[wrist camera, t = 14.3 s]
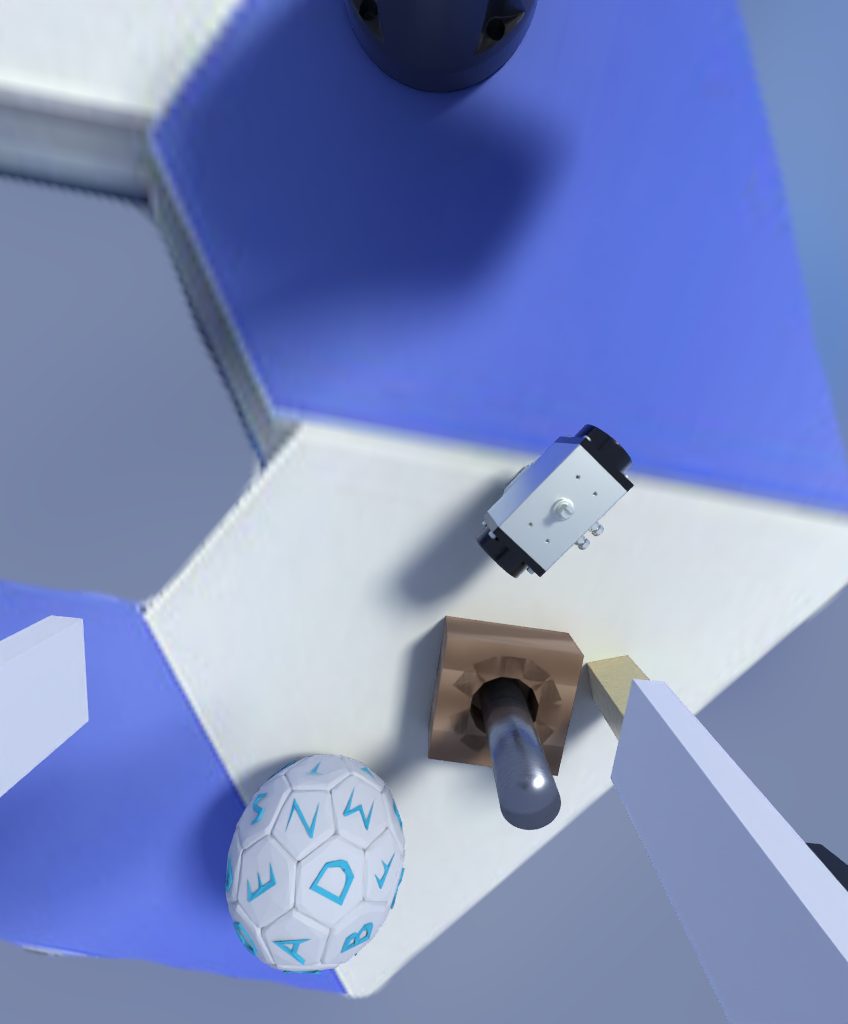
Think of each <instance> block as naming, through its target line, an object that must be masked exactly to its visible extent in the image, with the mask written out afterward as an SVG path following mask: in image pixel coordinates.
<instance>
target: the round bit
mask: <svg viewBox="0 0 848 1024" xmlns="http://www.w3.org/2000/svg"><path fill="white" fill-rule="evenodd" d="M478 693H479V698H480V703H481V709H482V714H483V719H484V724H485V729H486V735H487V740H488V745H489V750H490V756H491V761H492V766H493V771H494V777H495V782H496V787H497V792H498V797H499V803H500V808H501V812H502V814H503V816H504V818H505V819H506V820H507V821H508V822H509V823H510V824H512V825H513V826H515V827H517V828H520V829H525V830H534V829H539V828H542V827H544V826H546V825H548V824H549V823H551V822H552V821H553V820H554V819H555V818H556V816H557V815H558V813H559V810H560V806H561V799H560V795H559V792H558V789H557V787H556V784H555V781H554V778H553V776H552V773H551V770H550V767H549V765H548V762H547V759H546V756H545V754H544V751H543V748H542V745H541V743H540V740H539V737H538V734H537V732H536V729H535V726H534V723H533V721H532V718H531V715H530V712H529V710H528V707H527V704H526V701H525V699H524V696H523V693H522V690H521V688H520V685H519V682H518V679H516V678H508V677H498V678H495V679H493V680H490V681H487V682H484V683H483V684H482V685H481V686H480V688H479V689H478Z"/></svg>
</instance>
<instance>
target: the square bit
mask: <svg viewBox="0 0 848 1024" xmlns="http://www.w3.org/2000/svg"><path fill="white" fill-rule="evenodd" d="M587 665H588V671H589V677H590V684H591V690H592V696H593V700H594V702H595V703H596V705H597V707H598V708H599V710H600V711H601V713H602V715H603V716H604V718H605V720H606V721H607V723H608V725H609V726H610V728H611V729H612V731H613V733H614V734H615V736H616V738H617V739H618V741H619V737H620V733H621V728H622V724H623V719H624V715H625V710H626V706H627V701H628V697H629V692H630V688H631V683H632V679H641V680H649V678H648V677H647V676H646V675H645V674H644V673H643V672H642V671H641V669H640V668H639V667H638V666H637V665H636V664H635V663H634V662H633V660H632V659H631V658H630V657H629V656H628V655H626V656H621V657H616V658H610V659H605V660H599V661H594V662H589V663H587Z"/></svg>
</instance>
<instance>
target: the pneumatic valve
mask: <svg viewBox="0 0 848 1024" xmlns="http://www.w3.org/2000/svg"><path fill="white" fill-rule="evenodd" d="M631 464H632V461H631V458H630V456H629V455H628V454H627V452H626V451H625V450H624V449H623V448H622V447H621V446H620V445H619V444H618V443H617V442H616V441H615V440H614V439H613V438H612V437H610V436H609V435H608V434H606V433H605V432H604V431H602V430H601V429H599V428H597V427H595V426H593V425H589V424H587V425H585V426H584V427H583V428H582V429H581V430H580V431H579V432H578V433H577V434H576V435H575V436H574V437H571V436H569V435H567V437H559V438H558V439H557V440H556V441H555V442H554V443H553V444H552V445H551V446H550V447H549V448H548V449H547V450H546V451H545V452H544V454H543V455H542V456H541V457H540V458H539V459H538V460H537V461H536V462H535V463H534V464H533V463H532V464H531V465H527V466H526V467H525V468H524V469H523V470H522V471H521V472H520V473H519V474H518V475H517V476H516V477H515V479H514V480H513V481H512V482H511V483H510V484H509V485H508V486H507V487H506V488H505V489H504V493H503V496H502V497H501V498H500V499H499V500H498V501H497V502H496V503H495V504H494V505H493V506H492V507H491V508H490V509H489V510H488V512H486V513H485V514H484V515H483V516H482V517H483V519H484V520H485V521H484V522H483V523H482V524H483V525H484V526H485V528H484V529H483V530H482V531H481V532H480V533H479V534H478V535H477V536H476V538H475V539H476V541H477V542H478V544H479V545H480V546H481V547H482V548H483V550H484V551H485V552H486V553H487V554H488V555H489V556H490V557H491V558H492V559H493V560H494V561H495V562H496V563H497V564H498V565H499V566H500V567H501V568H503V569H504V570H505V571H506V572H507V573H508V574H510V575H511V576H513V577H514V578H517V577H518V576H519V575H520V574H521V573H522V572H523V571H524V570H525V569H526V568H527V567H528V566H529V567H528V568H527V571H528V572H529V573H530V574H533V573H534V572H535V573H536V574H537V575H538V576H539V577H541V576H542V575H543V574H544V573H545V572H546V571H547V570H548V569H549V568H550V567H551V566H552V565H553V564H554V563H555V562H556V561H557V560H558V559H559V558H560V557H561V556H562V555H563V554H564V553H565V552H566V551H567V550H568V549H569V548H570V547H571V546H573V545H574V544H575V545H578V548H579V549H581V550H583V549H585V548H587V547H588V546H589V544H590V543H589V540H588V539H585V537H584V536H583V535H584V534H585V533H586V532H587V531H588V530H589V531H592V534H593V535H594V536H598V535H600V534H601V533H602V532H603V530H604V528H603V527H602V526H601V525H599V523H598V522H597V521H598V520H599V519H600V518H601V517H602V516H603V515H604V514H605V513H606V512H607V511H608V510H609V509H610V508H611V507H612V506H613V505H614V504H615V503H616V502H618V501H619V500H620V499H621V498H622V497H623V496H624V495H625V494H626V493H627V492H628V491H629V490H630V489H631V488H632V487H633V486H634V485H633V484H632V483H631V482H630V481H629V477H628V476H627V475H626V474H623V473H624V472H625V471H626V470H627V469H628V468H629V467H630V466H631Z"/></svg>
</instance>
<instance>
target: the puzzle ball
mask: <svg viewBox="0 0 848 1024" xmlns="http://www.w3.org/2000/svg"><path fill="white" fill-rule="evenodd" d="M295 762H296V761H293V762H291V763H290V764H288V765H287V766H285V767H284V768H282V769H281V770H280V771H278V772H277V773H276V774H274V775H273V776H274V777H273V776H272V777H270V778H271V779H270V778H269V779H270V780H268V781H267V782H266V783H265V784H263V785H262V786H261V787H260V789H259V791H258V792H257V793H255V794H254V795H253V797H252V799H251V800H250V802H249V804H248V805H247V807H246V809H245V811H244V812H243V814H242V816H241V818H240V820H239V821H238V823H237V825H236V829H235V833H234V835H233V839H232V842H231V845H230V849H229V852H228V861H227V873H226V883H225V889H226V900H227V901H228V905H229V906H228V908H229V912H230V914H231V916H232V918H233V921H234V922H233V924H234V927H235V930H236V932H237V935H238V937H239V939H240V940H241V942H242V943H243V945H244V946H245V947H246V949H247V950H248V951H249V952H250V953H252V954H253V955H255V956H257V957H258V958H259V959H260V960H261V961H262V962H263V963H266V964H269V966H270V967H272V968H275V969H279V970H284V972H283V973H284V974H287V973H289V972H293V973H313V974H321V971H319V970H324V969H331V968H337V967H338V966H339V964H341V963H346V962H347V961H348V960H349V959H350V958H352V957H353V956H354V955H356V954H357V952H358V951H360V950H361V949H362V948H363V947H364V946H365V945H366V944H367V943H369V942H370V941H371V940H372V939H373V937H374V936H375V935H376V933H377V932H378V930H379V928H380V927H381V926H382V925H383V923H384V921H385V920H386V918H387V916H388V913H389V910H390V908H391V909H392V908H393V906H394V903H395V899H396V895H397V891H398V886H399V885H400V883H401V881H402V877H403V872H404V868H402V867H403V862H404V856H405V850H404V845H405V838H404V834H403V829H402V821H401V818H400V816H399V812H398V810H397V807H396V804H395V802H394V799H393V796H392V794H391V791H390V790H389V788H388V787H387V786H386V784H385V783H384V781H383V780H382V779H381V778H380V777H379V776H377V775H376V774H375V773H374V772H373V771H372V770H370V769H369V768H368V767H367V766H366V765H364V764H362V763H361V762H359V761H357V760H353V759H350V758H347V757H344V756H342V755H313V756H311V757H310V758H309V757H304V758H303V759H301V760H299V761H297V762H296V763H295Z"/></svg>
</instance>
